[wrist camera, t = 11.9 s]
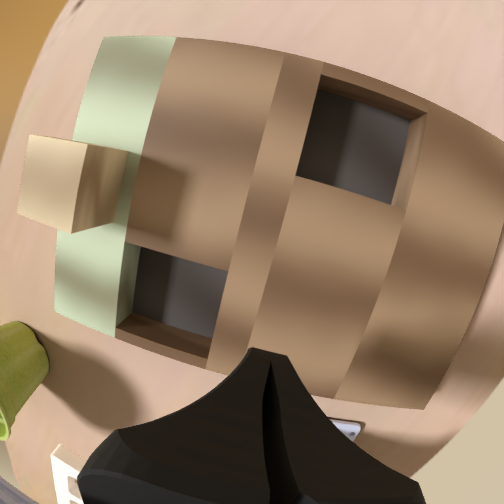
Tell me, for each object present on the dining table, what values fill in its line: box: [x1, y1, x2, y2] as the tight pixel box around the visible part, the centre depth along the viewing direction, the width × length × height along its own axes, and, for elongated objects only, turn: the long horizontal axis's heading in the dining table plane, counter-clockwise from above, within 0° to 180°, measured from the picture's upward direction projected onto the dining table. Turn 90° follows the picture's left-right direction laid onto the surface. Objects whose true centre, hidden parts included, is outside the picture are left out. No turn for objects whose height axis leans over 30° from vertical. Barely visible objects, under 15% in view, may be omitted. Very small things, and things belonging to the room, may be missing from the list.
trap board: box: [54, 36, 504, 410], centre depth 17 cm, size 18×26×3 cm
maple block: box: [17, 134, 129, 234], centre depth 14 cm, size 4×4×4 cm
